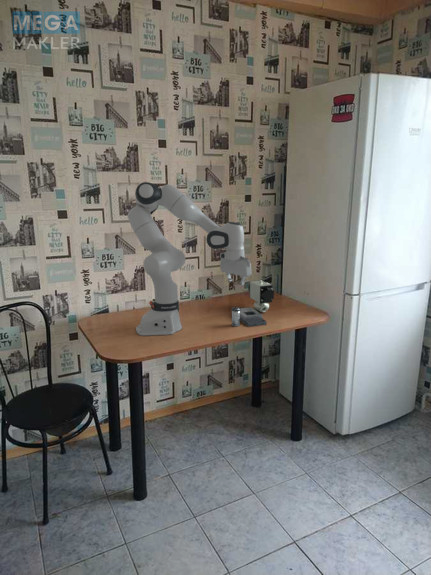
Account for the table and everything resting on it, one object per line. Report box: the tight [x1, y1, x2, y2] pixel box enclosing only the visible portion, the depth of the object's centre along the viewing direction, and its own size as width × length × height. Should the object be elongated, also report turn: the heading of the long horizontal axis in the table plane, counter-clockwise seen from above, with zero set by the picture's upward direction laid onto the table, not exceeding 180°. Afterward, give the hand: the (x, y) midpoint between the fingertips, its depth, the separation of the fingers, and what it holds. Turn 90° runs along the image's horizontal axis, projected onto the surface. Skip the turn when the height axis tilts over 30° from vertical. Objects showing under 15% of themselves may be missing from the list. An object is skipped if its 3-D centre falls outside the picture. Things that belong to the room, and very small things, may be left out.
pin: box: [230, 306, 242, 328], centre depth 210 cm, size 5×5×9 cm
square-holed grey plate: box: [240, 306, 267, 328], centre depth 219 cm, size 10×20×4 cm, turn 17°
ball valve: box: [247, 279, 275, 313], centre depth 232 cm, size 18×8×18 cm, turn 22°
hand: (235, 283), depth 206 cm, fingers open, 8 cm apart
